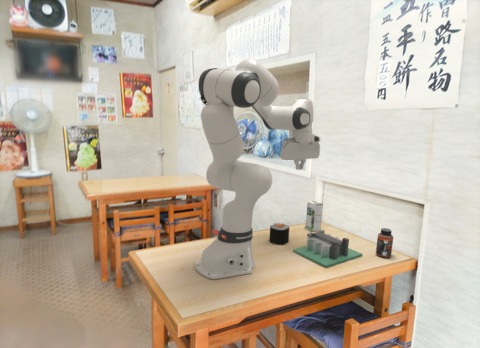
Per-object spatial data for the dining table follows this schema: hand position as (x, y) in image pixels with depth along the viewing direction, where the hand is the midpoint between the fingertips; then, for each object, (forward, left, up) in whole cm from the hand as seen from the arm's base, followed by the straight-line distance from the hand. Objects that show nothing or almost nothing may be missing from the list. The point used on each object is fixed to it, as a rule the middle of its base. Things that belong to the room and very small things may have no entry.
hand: (299, 169), depth 149 cm
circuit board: (+2, -17, -33) cm, 37 cm away
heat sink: (+2, -16, -32) cm, 36 cm away
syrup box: (+20, +8, -33) cm, 40 cm away
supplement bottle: (+22, -30, -33) cm, 50 cm away
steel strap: (+3, -16, -27) cm, 32 cm away
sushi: (-6, +4, -33) cm, 34 cm away
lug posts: (+2, -23, -33) cm, 40 cm away
